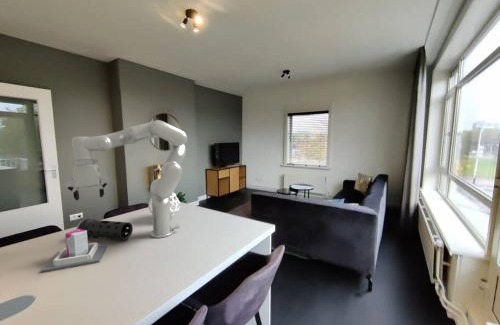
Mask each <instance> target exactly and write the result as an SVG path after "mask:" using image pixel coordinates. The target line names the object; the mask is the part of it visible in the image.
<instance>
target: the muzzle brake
mask: <svg viewBox="0 0 500 325" xmlns="http://www.w3.org/2000/svg"><path fill="white" fill-rule="evenodd" d="M75 228H76V229H75V230H77V229H81V230H87V238H92V239H96V240H97V239H106V240H111V241H119V242H120V241H121V242H126V241H128V239H129V238H131V236H132V234H133V228H134V227H133V223H132V222H129V221H128V222H126V221H117V220H115V221H113V220H101V219H94V218H86V219H82V220H80V221H79V222H78V224H77V225H76V227H75Z"/></svg>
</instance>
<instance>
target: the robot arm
mask: <svg viewBox="0 0 500 325" xmlns="http://www.w3.org/2000/svg"><path fill="white" fill-rule="evenodd" d="M155 138H161V140H162V139H163V140H164V141H166V142H168V143H169V145H170V151H169V153H168V156H167V158H166V159H165V161H164V163H163V164H162V166H161V168H160V173H161V176H160V178H156V179H154V180H152V182H151V184H150V187H149V188H150V189H149V191H150V199H152V213H151V215H152V229H153V230H152V231H151V232H149V233H150V234H149V235H150V237H152V238H156V239H158V238H159V239H161V238H166V237H169V236H171V235H173V234H174V233H175V230H179V229H180V225H177V224H178V223H177V224H172V221H171V220H172V219H171V218H172V217H171V215H170V213H171V212H170V204H171V203H170V198H169V197H170V196H171V195H172V194H173V193H175V190H176V188H177V186H178V185H179V182H180V181H181V179H182V176H183V167H182V166H181V165H182V164H183V161H184V159H185V157H186V153H187V149H186V144H187V142H188V135H187V134H186V132H185V131H183V130H182V129H179V128H177V127H176V126H173V125H171V124H169V123H168V122H165V121H163V120H160V119H156V120H154V121H150V122H146V123H145V122H144V123H142V124H137V125H134V126H130V127H127V128H124V129H122V130H118V131H115V132H111V133H108V134H103V135H97V136H95V135H94V136H74V137H72V139H71V143H72V150H73V157H74V159H73V160H74V167H73V171H72V173H73V174H72V175H73V176H72V178H73V179H71V180H69V181H67V182H65V183H64V186H65V187H66V188H67V190H68V191H70V192H71V193H73V199H75V201H79V200H80V193H79V189H82V188H90V187H97V188H99V198H103V197H104V195H105V187H106V186H107V185H108V183H109V181H110V178H107V177H104V176H102V175H101V172H100V168H99V166H98V164H97V163H99V159H96V158H95V153H94V152H107V151H109V150H111V149H114V148H115V149H116V148H118V147H122V146H125V145H126V146H127V145H133V144H137V143H141V142H145V141H148V140H152V139H155ZM102 181H104V183H103V184H102ZM71 184H73V186H74V187H73V186H72V185H71Z"/></svg>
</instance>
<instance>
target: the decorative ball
mask: <svg viewBox="0 0 500 325" xmlns="http://www.w3.org/2000/svg"><path fill="white" fill-rule="evenodd" d="M169 198H170V215H171V218H172V217H173V216H174V215H175V214H176V213H177V212H178V211H179V209H180V207H181V201H180V200H179V198H178V197H177V195H176V193H175V192H173V194H172V195H171V196H170V197H169ZM147 207H148V209H149V212H150V213H151V214H152V199H151V198H150V199H149V201H148V206H147Z"/></svg>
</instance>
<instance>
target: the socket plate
mask: <svg viewBox="0 0 500 325" xmlns="http://www.w3.org/2000/svg"><path fill="white" fill-rule="evenodd" d="M107 248H108V244H102V245H99V244H98V242H92V243H91V242H90V243H89V242H88V253H89V254H86V255H81V256H75V257H69V258H67V247H64V248H63V249H62V250H61V251H59V252H58V251H57V253H56V254H54V255H53V257H51V259H49V261H48V262H47V263H46V265H45V266H43V267H42V268H41V270H40V273H41V274H44V273H49V272H55V271H60V270H66V269H71V268H77V267H81V266H87V265H93V264H97V263H98V264H99V263H100V262H101V260H102V258H103V256H104V255H105V253H106V250H107Z"/></svg>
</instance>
